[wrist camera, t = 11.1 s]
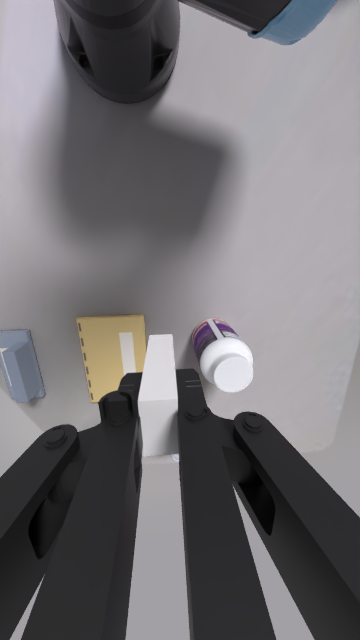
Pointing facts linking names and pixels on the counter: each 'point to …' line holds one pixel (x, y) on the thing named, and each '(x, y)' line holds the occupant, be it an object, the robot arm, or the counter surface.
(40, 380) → the stub
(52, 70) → the counter surface
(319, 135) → the counter surface
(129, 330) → the tan notebook
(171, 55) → the robot arm
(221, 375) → the pill bottle
